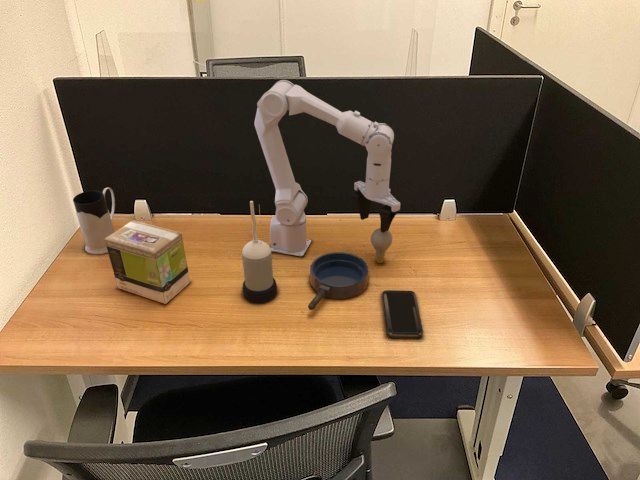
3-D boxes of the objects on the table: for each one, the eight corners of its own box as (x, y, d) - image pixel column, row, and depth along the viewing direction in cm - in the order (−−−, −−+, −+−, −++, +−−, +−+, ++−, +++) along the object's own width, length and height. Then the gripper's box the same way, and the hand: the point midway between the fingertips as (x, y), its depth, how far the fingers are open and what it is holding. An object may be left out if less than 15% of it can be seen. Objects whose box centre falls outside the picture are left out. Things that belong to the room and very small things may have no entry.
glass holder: (78, 252, 137) (62, 203, 129) (107, 225, 149) (95, 179, 141) (107, 256, 136) (93, 207, 128) (134, 228, 147) (123, 182, 139)
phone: (387, 334, 109) (382, 290, 121) (386, 338, 109) (381, 293, 122) (424, 334, 109) (415, 290, 121) (423, 338, 109) (414, 294, 122)
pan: (302, 293, 122) (302, 280, 120) (320, 260, 134) (320, 248, 132) (360, 304, 119) (360, 291, 117) (373, 270, 130) (373, 257, 128)
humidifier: (252, 279, 127) (243, 190, 113) (282, 286, 125) (277, 196, 111) (237, 299, 121) (226, 207, 107) (268, 307, 118) (261, 214, 105)
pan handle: (323, 288, 121) (323, 282, 120) (332, 290, 120) (332, 285, 119) (305, 309, 114) (305, 304, 114) (314, 313, 114) (314, 307, 113)
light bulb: (390, 256, 135) (392, 224, 130) (390, 268, 131) (393, 236, 125) (369, 255, 136) (371, 223, 130) (369, 267, 131) (371, 235, 126)
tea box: (191, 281, 126) (183, 231, 118) (165, 306, 119) (154, 254, 111) (144, 266, 132) (132, 217, 123) (116, 289, 124) (102, 238, 116)
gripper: (411, 182, 119) (406, 231, 126) (369, 161, 129) (367, 208, 136) (389, 191, 115) (385, 240, 123) (348, 169, 125) (346, 216, 132)
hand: (374, 224), depth 129 cm, fingers open, 7 cm apart
